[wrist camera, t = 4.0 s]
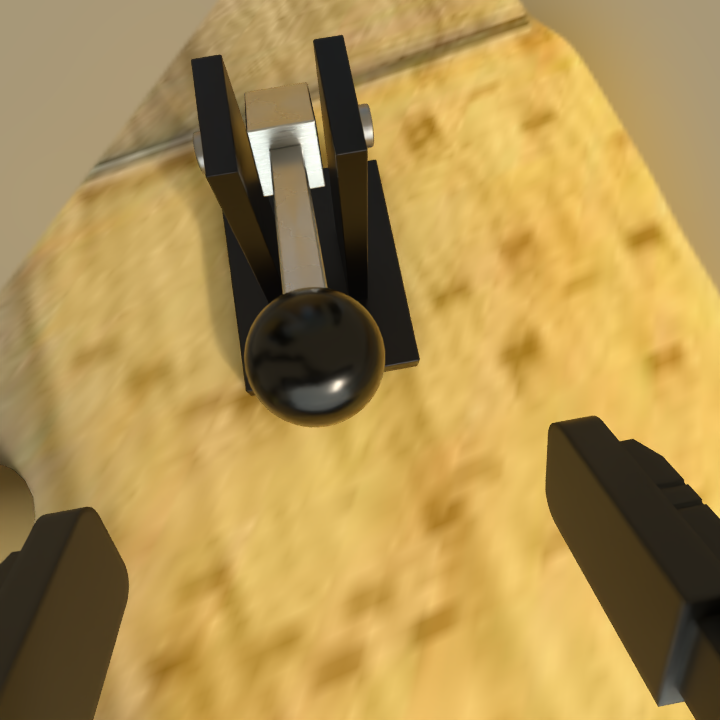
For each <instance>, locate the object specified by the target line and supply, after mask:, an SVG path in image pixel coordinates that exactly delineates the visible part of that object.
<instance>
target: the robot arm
mask: <svg viewBox="0 0 720 720" xmlns="http://www.w3.org/2000/svg"><path fill="white" fill-rule="evenodd" d="M546 497H547V502H548V506H549V509H550V512H551V515H552V517H553V520H554V522H555V524H556V526H557V527H558V529H559V531H560V533H561V534H562V536H563V538H564V540H565V542H566V543H567V545H568V547H569V549H570V550H571V552H572V554H573V556H574V558H575V559H576V561H577V563H578V565H579V566H580V568H581V570H582V572H583V574H584V575H585V577H586V579H587V581H588V582H589V584H590V586H591V588H592V590H593V591H594V593H595V595H596V597H597V599H598V600H599V602H600V604H601V606H602V607H603V609H604V611H605V613H606V615H607V616H608V618H609V620H610V622H611V623H612V625H613V627H614V629H615V631H616V632H617V634H618V636H619V638H620V639H621V641H622V643H623V645H624V647H625V648H626V650H627V652H628V654H629V656H630V657H631V659H632V661H633V663H634V664H635V666H636V668H637V670H638V672H639V673H640V675H641V677H642V679H643V680H644V682H645V684H646V686H647V688H648V689H649V691H650V693H651V695H652V696H653V698H654V700H655V702H656V704H657V705H658V707H659V706H664V705H669V704H674V703H679V702H684V701H685V703H686V704H687V706H688V708H689V709H690V711H691V713H692V714H693V716H694V718H695V719H696V720H720V519H719V517H718V516H717V515H716V514H715V513H714V512H713V511H712V510H711V509H710V508H709V507H708V505H707V504H705V505H704V504H703V503H702V499H701V498H700V497H699V496H698V494H697V493H696V492H695V491H694V490H693V489H692V488H691V487H690V486H689V485H688V484H687V485H686V484H685V483H684V479H683V478H682V477H681V476H680V475H679V474H678V473H677V471H676V470H675V469H674V468H673V467H672V466H671V465H670V464H669V463H668V462H667V461H666V459H665V458H664V457H663V456H661V455H659V454H658V453H656V452H654V451H653V450H651V449H649V448H648V447H646V446H644V445H642V444H641V443H639V442H637V441H636V440H634V439H630V440H625V441H619V440H618V439H617V438H616V437H615V436H614V434H613V433H612V432H611V431H610V430H609V428H608V427H607V426H606V425H605V424H604V422H603V421H602V420H601V419H600V418H598V417H597V416H588V417H583V418H577V419H572V420H567V421H561V422H556V423H552V424H551V425H550V427H549V430H548V445H547V465H546ZM128 592H129V581H128V573H127V569H126V566H125V564H124V562H123V560H122V558H121V556H120V554H119V552H118V550H117V548H116V547H115V545H114V543H113V541H112V539H111V537H110V535H109V533H108V532H107V530H106V528H105V526H104V524H103V522H102V520H101V518H100V516H99V515H98V513H97V512H96V511H95V509H93V508H91V507H83V508H78V509H73V510H67V511H62V512H56V513H51V514H45V515H42V516H41V517H40V518H39V519H38V520H37V521H36V523H35V524H34V526H33V528H32V530H31V532H30V534H29V536H28V537H27V539H26V541H25V543H24V545H23V547H22V549H21V551H16V552H11V553H10V554H9V555H8V556H7V557H6V559H5V560H4V561H3V562H2V563H1V564H0V720H93V719H94V715H95V712H96V708H97V705H98V701H99V698H100V694H101V691H102V687H103V684H104V680H105V677H106V673H107V670H108V666H109V663H110V659H111V656H112V652H113V649H114V645H115V642H116V638H117V635H118V631H119V628H120V624H121V621H122V617H123V614H124V611H125V607H126V604H127V599H128Z"/></svg>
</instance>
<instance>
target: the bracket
mask: <svg viewBox="0 0 720 720" xmlns="http://www.w3.org/2000/svg"><path fill="white" fill-rule="evenodd" d="M313 44H314V52H315V61H316V69H317V77H318V86H319V94H320V102H321V111H322V119H323V127H324V136H325V144H326V152H327V161H328V168H323V171H324V178H325V184H326V185H325V186H324V187H319V188H313V189H310V191H311V197H312V202H313V208H314V214H315V219H316V225H317V231H318V236H319V242H320V248H321V253H322V259H323V265H324V270H325V276H326V282H327V287H328V288H329V289H333V290H337V291H340V292H342V293H345V294H346V295H348V296H350V297H352V298H353V299H355V300H356V301H358V302H359V303H360V304H361V305H362V306H363V307H364V308H365V309H366V310H367V311H368V312H369V313H370V314H371V316H372V317H373V319H374V320H375V322H376V324H377V325H378V327H379V330H380V332H381V335H382V338H383V343H384V349H385V366H384V372H386V371H391V370H397V369H402V368H408V367H413V366H417V365H418V363H419V360H420V358H419V354H418V349H417V345H416V340H415V335H414V331H413V326H412V322H411V317H410V313H409V308H408V303H407V299H406V294H405V290H404V285H403V280H402V276H401V271H400V267H399V262H398V257H397V253H396V248H395V244H394V239H393V234H392V230H391V225H390V221H389V216H388V211H387V207H386V202H385V198H384V193H383V188H382V184H381V179H380V175H379V170H378V165H377V161H376V160H370V161H368V149H367V148H369V147H373V145H374V132H373V124H372V117H371V112H370V108H369V106H368V104H361V105H358V102H357V98H356V93H355V88H354V84H353V79H352V74H351V70H350V65H349V60H348V55H347V51H346V46H345V41H344V37H343V35H339V36H332V37H326V38H320V39H314V41H313ZM191 64H192V72H193V80H194V88H195V96H196V104H197V112H198V120H199V128H200V131H198V132H194V133H193V144H194V150H195V154H196V158H197V161H198V164H199V167H200V169H201V171H202V173H203V174H204V175H205V176H206V178H207V180H208V182H209V184H210V186H211V188H212V190H213V192H214V194H215V196H216V198H217V200H218V202H219V204H220V206H221V208H222V212H223V219H224V227H225V235H226V242H227V250H228V257H229V265H230V272H231V280H232V288H233V295H234V303H235V310H236V318H237V326H238V333H239V341H240V348H241V356H242V363H243V371H244V379H245V386H246V391H247V392H248V393H249V394H250V395H251V396H253V395H255V393H254V392H253V390H252V388H251V386H250V384H249V381H248V377H247V374H246V371H245V361H244V352H245V344H246V340H247V336H248V333H249V331H250V328H251V326H252V324H253V323H254V321H255V319H256V318H257V316H258V315H259V314H260V312H261V311H262V310H263V309H264V308H265V307H266V306H267V305H268V304H269V303H271V302H272V301H273V300H274V299H276V298H277V297H279V296H281V295H283V290H282V280H281V270H280V260H279V250H278V239H277V229H276V219H275V209H274V199H273V195H272V196H266V197H264V196H263V194H262V190H261V186H260V183H259V179H258V175H257V171H256V167H255V164H254V160H253V156H252V152H251V148H250V144H249V141H248V137H247V133H246V128H245V125H244V122H243V119H242V116H241V113H240V110H239V107H238V104H237V101H236V98H235V95H234V92H233V89H232V86H231V83H230V80H229V77H228V74H227V70H226V67H225V64H224V61H223V58H222V56H221V55H214V56H208V57H202V58H196V59H192V60H191Z"/></svg>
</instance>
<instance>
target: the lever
mask: <svg viewBox="0 0 720 720" xmlns="http://www.w3.org/2000/svg"><path fill="white" fill-rule="evenodd" d="M244 95H245V115H246V133H247V137H248V141H249V144H250V148H251V152H252V156H253V160H254V164H255V167H256V171H257V175H258V179H259V183H260V186H261V190H262V194H263V196H264V197H266V196H272V195H273V199H274V209H275V219H276V229H277V239H278V250H279V260H280V270H281V280H282V290H283V295H281V296H279V297H277V298H276V299H274V300H273V301H272V302H271V303H269V304H268V305H267V306H266V307H265V308H264V309H263V310H262V311H261V312H260V314H259V315H258V316H257V318H256V319H255V321H254V323H253V324H252V326H251V328H250V331H249V333H248V336H247V340H246V344H245V352H244V361H245V371H246V374H247V377H248V381H249V384H250V386H251V388H252V390H253V392H254V393H255V395H256V397H257V398H258V399H259V401H260V402H261V403H262V404H263V405H264V406H265V407H266V408H267V409H268V410H269V411H270V412H272V413H273V414H274V415H276V416H277V417H279V418H281V419H282V420H284V421H287V422H290V423H292V424H295V425H299V426H303V427H325V426H330V425H334V424H337V423H340V422H343V421H345V420H347V419H349V418H351V417H352V416H354V415H355V414H357V413H358V412H359V411H360V410H362V409H363V408H364V407H365V406H366V404H367V403H368V402H369V401H370V400H371V399H372V397H373V396H374V394H375V392H376V391H377V389H378V387H379V385H380V382H381V379H382V376H383V372H384V366H385V349H384V343H383V338H382V335H381V332H380V330H379V327H378V325H377V324H376V322H375V320H374V319H373V317H372V316H371V314H370V313H369V312H368V311H367V310H366V309H365V308H364V307H363V306H362V305H361V304H360V303H359V302H358V301H356V300H355V299H353V298H352V297H350V296H348V295H346V294H345V293H342V292H340V291H337V290H333V289H329V288H328V287H327V282H326V276H325V270H324V265H323V259H322V253H321V248H320V242H319V236H318V231H317V225H316V219H315V214H314V208H313V202H312V197H311V191H310V189H313V188H319V187H324V186H325V185H326V184H325V178H324V171H323V165H322V159H321V152H320V146H319V139H318V133H317V127H316V121H315V116H314V111H313V107H312V102H311V98H310V93H309V89H308V84H307V83H306V82H305V83H299V84H293V85H287V86H281V87H275V88H269V89H262V90H256V91H250V92H245V94H244Z"/></svg>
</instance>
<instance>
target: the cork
mask: <svg viewBox="0 0 720 720" xmlns="http://www.w3.org/2000/svg"><path fill="white" fill-rule="evenodd" d="M34 518H35V513H34V503H33V497H32V495H31V492H30V490H29V488H28V486H27V484H26V482H25V481H24V480H23V479H22V478H21V477H20V476H19V475H18V474H17V473H16V472H15V471H14V470H13V469H11V468H8V467H6V466H3V465H1V464H0V564H1V563H2V562H3V561H4V560H5V559H6V557H7V556H8V555H9V554H10V553H11V552H16V551H21V549H22V547H23V545H24V543H25V541H26V539H27V537H28V536H29V534H30V532H31V530H32V528H33V523H34Z"/></svg>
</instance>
